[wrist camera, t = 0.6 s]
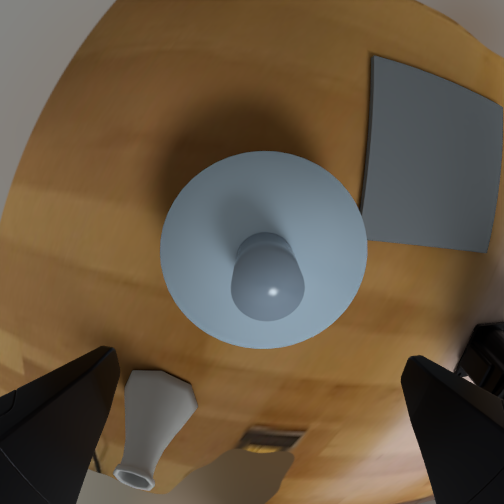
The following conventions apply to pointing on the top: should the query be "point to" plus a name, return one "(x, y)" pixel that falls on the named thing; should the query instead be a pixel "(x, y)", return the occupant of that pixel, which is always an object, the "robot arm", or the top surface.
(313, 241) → the lid
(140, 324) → the top surface
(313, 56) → the top surface
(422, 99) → the plate
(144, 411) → the flask
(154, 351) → the top surface
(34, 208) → the top surface
